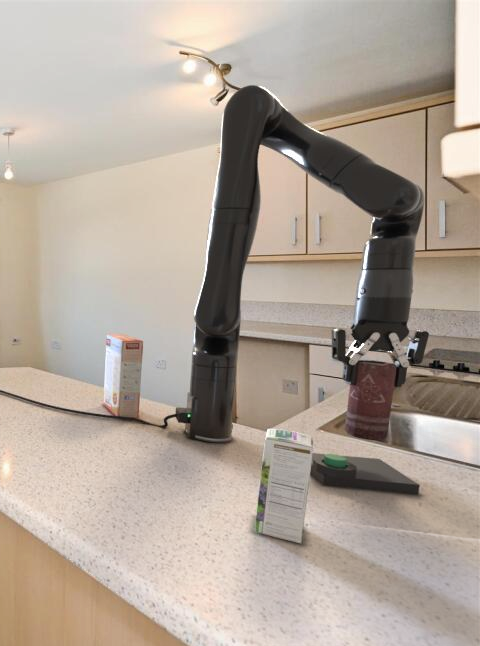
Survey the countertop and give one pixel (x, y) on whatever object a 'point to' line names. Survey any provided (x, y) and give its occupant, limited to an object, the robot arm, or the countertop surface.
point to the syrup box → (284, 484)
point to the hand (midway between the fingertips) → (372, 384)
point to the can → (371, 400)
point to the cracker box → (123, 375)
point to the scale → (362, 475)
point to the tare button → (335, 460)
